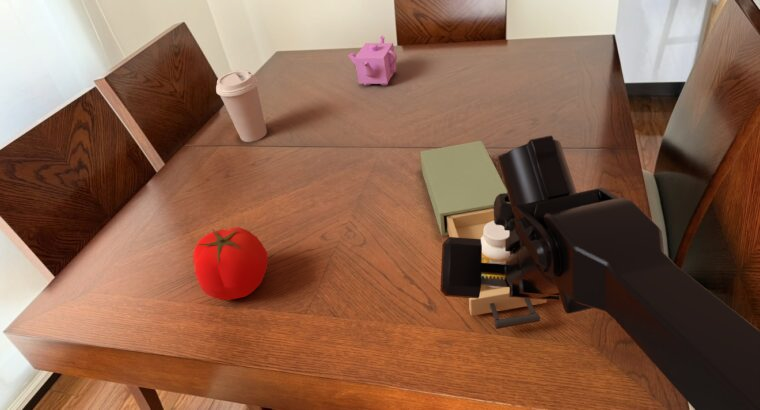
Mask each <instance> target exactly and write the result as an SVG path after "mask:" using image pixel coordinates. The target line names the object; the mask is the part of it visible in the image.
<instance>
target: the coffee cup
mask: <svg viewBox="0 0 760 410" xmlns="http://www.w3.org/2000/svg"><path fill="white" fill-rule="evenodd" d="M258 84H259V81H258V79H257V77H256V76H255V75H254V74H253V73H252V72H251V71H250V70H246V69H240V70H239V69H238V70H233V71H230V72H229V71H228V72H227V73H224V74H223V75H221V76H220V77H218V79H217V81H216V86H215V91H216V92H215V93H216V94H217V95H218V96H220V98H221V100H222V102H223V104H224V107H225V109H226V111H227V113H228V115H229V117H230V119H231V121H232V123H233V125H234V127H235V129H236V131H237V134H238V136H239V138H240V140H241V141H243V142H245V143H252V142H256V141H259V140H261V139H262V138H264V137H265V136H266V135H267V134H268V131H267V127H266V126H267V125H266V121H265V118H264V113H263V112H264V111H263V107H262V104H261V99H260V95H259V89H258Z"/></svg>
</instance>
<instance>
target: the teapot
mask: <svg viewBox="0 0 760 410" xmlns="http://www.w3.org/2000/svg"><path fill="white" fill-rule="evenodd" d="M347 57H348V59H350V60H351V62H353V63H354V65H355V69H356V75H357V81H358V84H363V86H370V85H372V84H373V85H374V84H375V85H377V84H379V85H380V86H382V87H383V86H384V87H385V86H388V85H389V82H390V80H391V78H392V77H393V75H394V73H395V72H396V71H397V64H396V62H397V59H398V56H397V53H396V52H395V46H394V42H385V35H381V37H379V42H369V43H368V42H367V43H364V44H363V46H362V47H361V48H360V49H359V51H358V53H357V54H355V53H354V52H352V53H349V54H348V56H347Z"/></svg>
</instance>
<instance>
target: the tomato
mask: <svg viewBox="0 0 760 410" xmlns="http://www.w3.org/2000/svg"><path fill="white" fill-rule="evenodd" d="M192 258H193V264H194V274H195V276H196V279H197V282H198V284H199V286H200V288H201V289H202V291H203V292H204V293H205V295H206V296H209V297H211V298H214V299H218V300H222V301H231V300H236V299H241V298H246V297H247V296H249V295H251V294H252V293H253V292H254V291H256V289H257V288H258V287H259V286H260V285H261V283H262V281H263V279H264V277H265V275H266V273H267V268H268V260H269V259H268V251H267V250H266V248H265V246H264V245H263V242H261V240H260V239H259V238H258V236H256V235H255V234H254V233H252V232H251V231H249V230H248V229H246V228H243V227H241V226H237V227H236V226H235V227H231V228H229V229H218V230H214V229H212V231H210V232H209V233H208V234H206V235H204V236H203V237H201V238H199V240H198V242H197V244H196V245H195V246H194V249H193V254H192Z"/></svg>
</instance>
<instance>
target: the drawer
mask: <svg viewBox="0 0 760 410" xmlns="http://www.w3.org/2000/svg"><path fill="white" fill-rule="evenodd" d="M491 221H494V209H493V208H489V209H483V210H477V211H472V212H466V213H460V214H454V215H448V216H447V230H448V233H449V235H448V236H449V237H458V238H472V239H481V237H482V236H483V230H484V227H485V225H486V224H487V223H489V222H491ZM509 292H510V287H504V288H498V289H494V288H491V287H488V286H484V285H481V290H480V295H479V298H468V310H469V314H470V316H471V317H472V316H478V315H484V314H490V313H491V314H492V316H493V320H494V321H493V324H494V327H495V329H496V330H499V329H505V328H511V327H516V326H522V325H528V324H533V323H539V322H541V316H540V314H539V312H536V309H535V308H534V306H535V305H541V304H546V303H547V301H548V300H543V299H530V298H517V297H509ZM523 307H524V308H525V307H527V309H528V312H529V313H527V314H522V315H516V316H510V317H509V316H508V317H504V318H500V316H499V312H502V311H508V310H512V309H518V308H523Z"/></svg>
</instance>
